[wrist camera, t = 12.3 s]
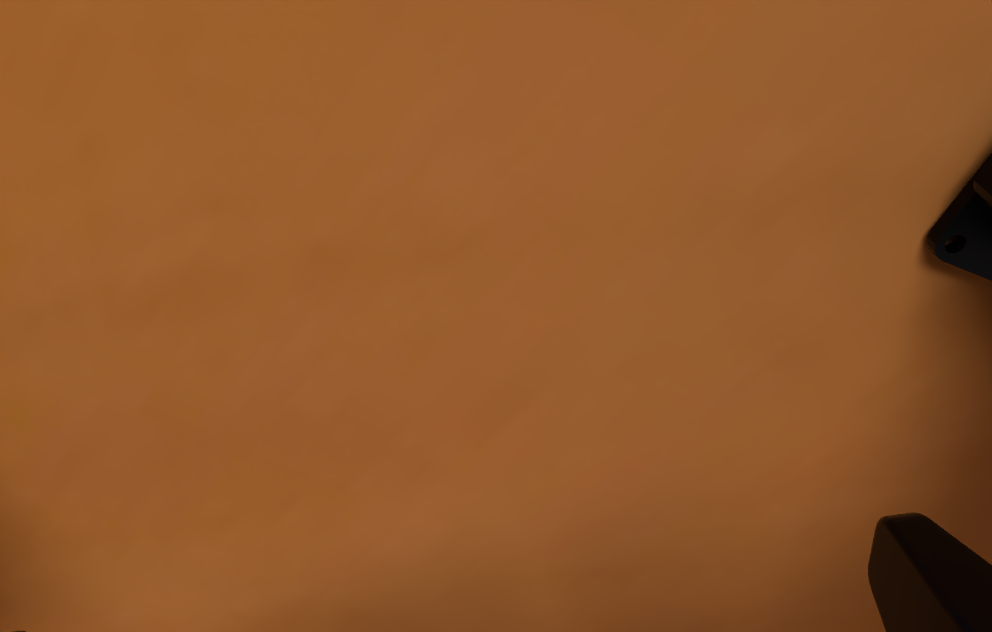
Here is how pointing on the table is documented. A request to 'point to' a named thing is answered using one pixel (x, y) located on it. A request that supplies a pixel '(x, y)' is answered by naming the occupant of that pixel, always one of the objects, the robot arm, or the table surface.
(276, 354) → the table surface
